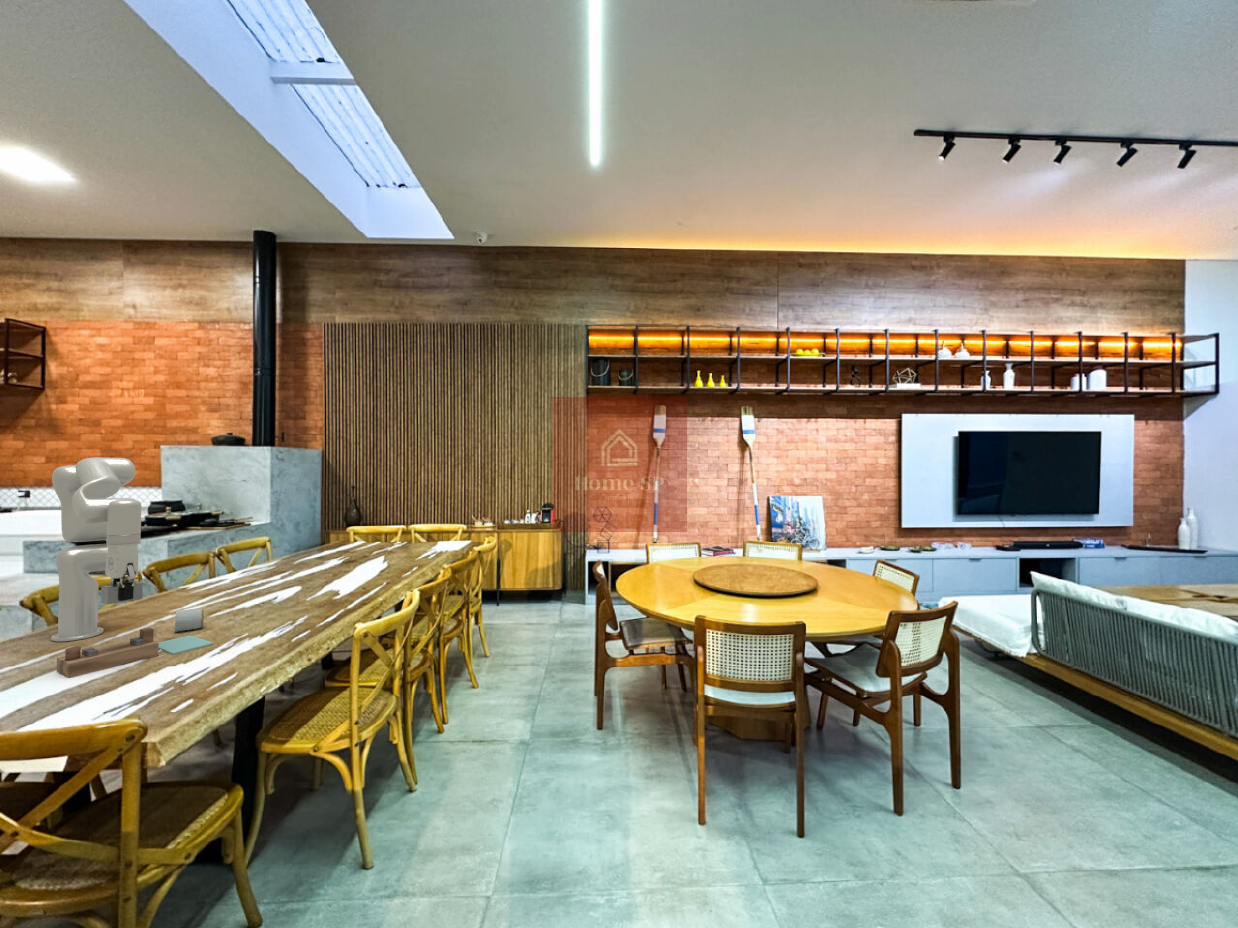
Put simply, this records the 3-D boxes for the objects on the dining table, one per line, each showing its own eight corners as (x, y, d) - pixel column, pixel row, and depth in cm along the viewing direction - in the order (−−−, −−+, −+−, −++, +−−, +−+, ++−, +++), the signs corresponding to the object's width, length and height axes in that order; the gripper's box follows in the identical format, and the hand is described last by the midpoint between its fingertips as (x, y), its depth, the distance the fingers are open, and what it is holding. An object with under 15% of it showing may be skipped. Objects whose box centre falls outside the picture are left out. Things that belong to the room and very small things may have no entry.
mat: (150, 646, 169) (150, 644, 169) (190, 636, 178) (190, 635, 178) (173, 654, 161) (173, 652, 161) (213, 644, 171) (213, 642, 171)
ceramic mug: (204, 629, 186) (204, 608, 186) (174, 634, 181) (175, 612, 181) (202, 623, 194) (203, 603, 194) (174, 627, 189) (175, 607, 189)
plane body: (56, 671, 147) (57, 644, 147) (145, 650, 165) (145, 625, 165) (68, 677, 143) (69, 649, 143) (158, 655, 161) (158, 630, 161)
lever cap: (101, 602, 154) (101, 583, 154) (135, 596, 161) (136, 578, 161) (107, 604, 152) (108, 585, 152) (142, 598, 159) (142, 580, 159)
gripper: (96, 538, 157) (94, 597, 157) (118, 543, 149) (117, 605, 149) (128, 536, 164) (126, 592, 164) (151, 540, 156) (150, 599, 156)
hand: (122, 597), depth 156 cm, fingers closed on lever cap, 5 cm apart
